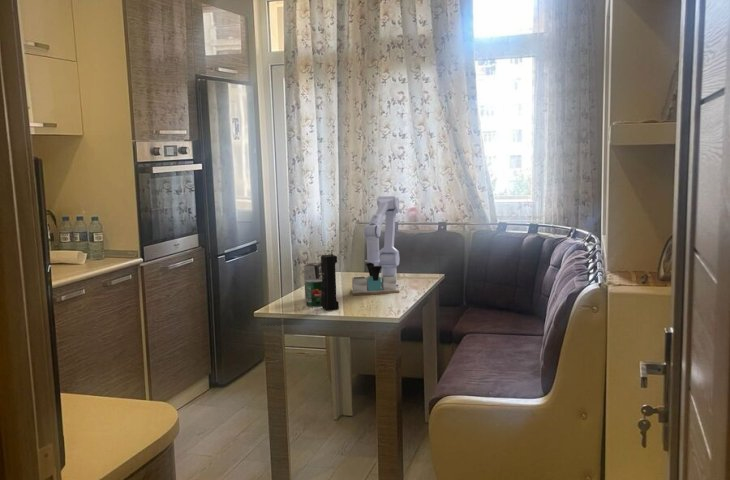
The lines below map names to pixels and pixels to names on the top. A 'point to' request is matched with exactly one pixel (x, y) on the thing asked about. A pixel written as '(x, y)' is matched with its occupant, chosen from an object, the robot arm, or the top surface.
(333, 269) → the portable radio
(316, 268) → the coffee box
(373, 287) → the module
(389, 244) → the robot arm
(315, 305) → the canned tomato
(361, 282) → the board
